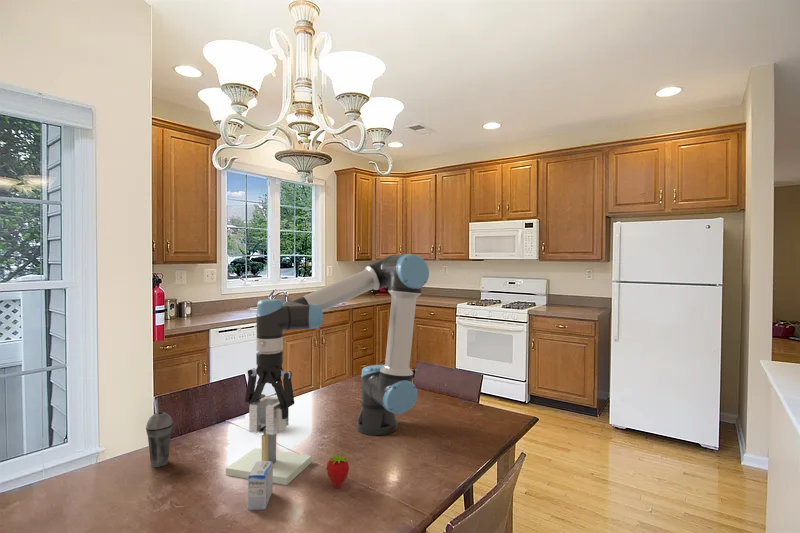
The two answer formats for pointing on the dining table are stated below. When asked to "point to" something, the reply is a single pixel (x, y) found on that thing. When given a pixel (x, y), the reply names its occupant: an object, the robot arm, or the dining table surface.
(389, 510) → the dining table surface
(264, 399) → the keyed collar
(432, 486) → the dining table surface
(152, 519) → the dining table surface
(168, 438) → the beverage cup
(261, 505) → the medicine box
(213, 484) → the dining table surface
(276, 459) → the shaft stand
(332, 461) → the strawberry
